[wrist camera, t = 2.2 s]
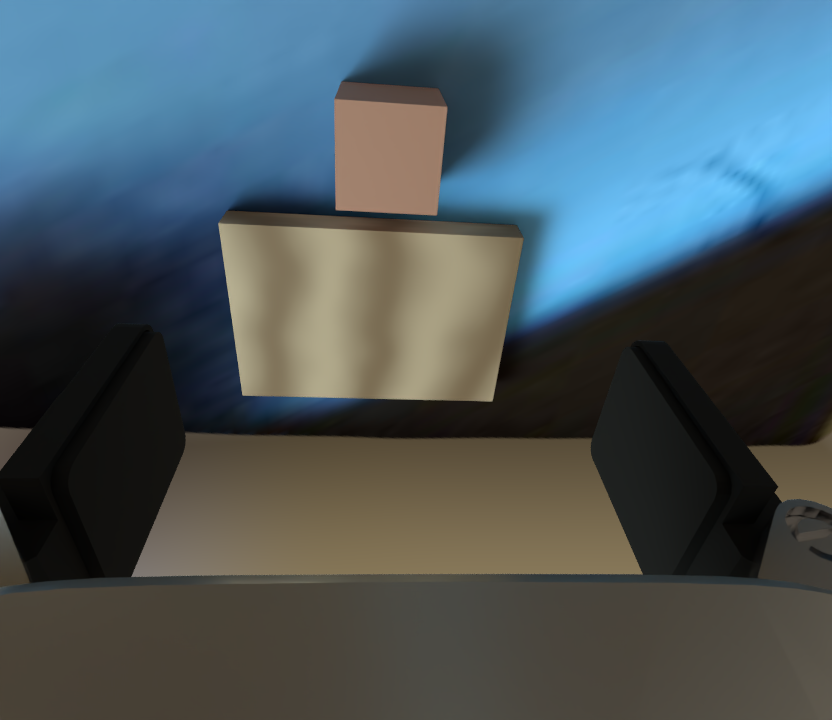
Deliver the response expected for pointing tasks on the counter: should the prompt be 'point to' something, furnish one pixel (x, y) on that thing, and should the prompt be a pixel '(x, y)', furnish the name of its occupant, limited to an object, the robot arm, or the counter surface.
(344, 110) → the terracotta cube
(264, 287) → the chopping board
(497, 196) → the counter surface
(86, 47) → the counter surface
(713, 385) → the counter surface
